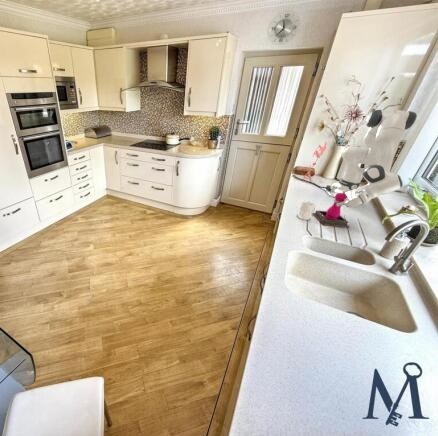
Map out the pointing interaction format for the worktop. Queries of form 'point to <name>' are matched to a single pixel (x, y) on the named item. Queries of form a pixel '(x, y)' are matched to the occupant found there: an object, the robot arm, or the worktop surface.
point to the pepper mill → (334, 209)
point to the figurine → (317, 158)
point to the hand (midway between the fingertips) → (336, 203)
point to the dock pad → (328, 222)
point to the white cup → (306, 210)
